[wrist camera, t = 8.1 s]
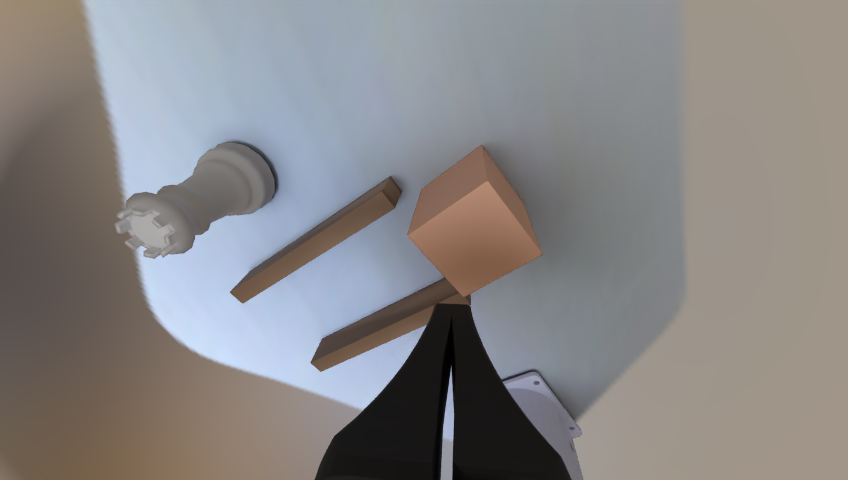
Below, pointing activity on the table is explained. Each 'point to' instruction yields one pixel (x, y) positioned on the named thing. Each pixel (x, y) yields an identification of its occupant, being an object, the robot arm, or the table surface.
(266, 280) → the walnut channel
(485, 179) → the terracotta block
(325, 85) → the table surface
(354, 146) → the table surface
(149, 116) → the table surface
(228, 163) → the rook chess piece
